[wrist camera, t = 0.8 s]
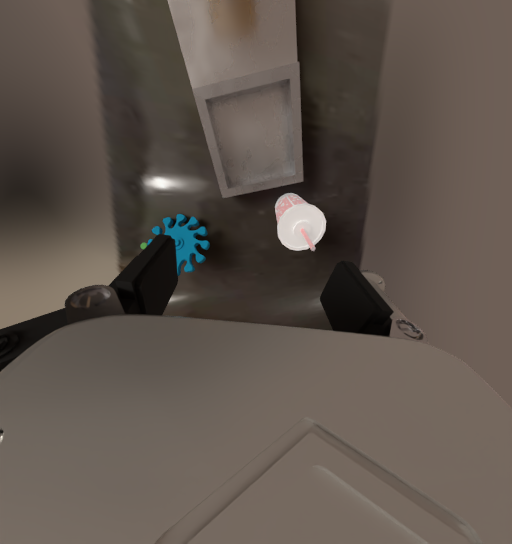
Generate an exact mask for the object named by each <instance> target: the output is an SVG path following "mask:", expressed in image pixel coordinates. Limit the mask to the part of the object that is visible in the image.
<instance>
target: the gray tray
mask: <svg viewBox="0 0 512 544" xmlns="http://www.w3.org/2000/svg"><path fill="white" fill-rule="evenodd" d="M168 3H169V7H170V10H171V14H172V18H173V21H174V25H175V28H176V32H177V35H178V39H179V43H180V46H181V50H182V53H183V57H184V61H185V64H186V68H187V71H188V75H189V78H190V82H191V86H192V90H193V93H194V97H195V100H196V104H197V108H198V111H199V115H200V118H201V122H202V126H203V129H204V133H205V136H206V140H207V143H208V147H209V151H210V154H211V158H212V161H213V165H214V168H215V172H216V176H217V179H218V183H219V186H220V190H221V194H222V197H223V198H226V197H231V196H236V195H241V194H245V193H250V192H255V191H260V190H265V189H270V188H274V187H279V186H284V185H289V184H294V183H299V182H303V158H302V128H301V97H300V67H299V62H297V38H296V11H295V0H168Z"/></svg>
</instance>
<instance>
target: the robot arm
mask: <svg viewBox="0 0 512 544" xmlns="http://www.w3.org/2000/svg"><path fill="white" fill-rule="evenodd" d="M177 282H178V273H177V258H176V244H175V239H172V237H171V236H170V235H164V234H158V235H157V236H156V237H155V238H154V239H153V240H152V241H151V242H150V244H149V245H148V246H147V247H146V248H145V249H144V250H143V251H142V252H141V253H140V254H139V255H138V256H136V257H135V258H134V259H133V260H132V261H131V262H130V264H129V265H128V266H127V267H126V268H125V269H124V270H123V271H122V272H121V273H120V274H119V275H118V276H117V277H116V278H115V279H114V280H113V281H112V283H111V284H110V285H109V286H106V285H92V286H88V287H85V288H81V289H79V290H77V291H75V292H73V293H72V294H71V295H69V296H68V298H67V299H66V300H65V308H63V309H60V310H57V311H54V312H51V313H49V314H45V315H42V316H39V317H37V318H33V319H31V320H27V321H24V322H21V323H18V324H15V325H12V326H9V327H6V328H3V329H0V544H512V408H511V407H510V406H509V405H508V404H507V403H506V402H505V401H504V400H503V399H502V398H501V397H500V396H499V395H498V394H497V393H496V392H495V391H494V390H493V389H492V388H491V387H490V386H489V385H488V384H487V383H486V382H485V381H484V380H483V379H482V378H481V377H480V376H479V375H478V374H477V373H476V372H475V371H473V370H472V369H471V368H470V367H469V366H468V365H467V364H465V363H464V362H463V361H462V360H460V359H459V358H457V357H455V356H453V355H451V354H449V353H447V352H445V351H443V350H441V349H438V348H436V347H433V346H431V345H430V344H429V343H428V340H427V336H426V334H425V333H424V331H422V329H421V328H420V327H418V326H417V325H416V324H414V323H413V322H411V321H409V320H408V319H407V318H406V317H405V316H404V315H403V314H402V312H401V311H400V310H399V309H398V308H397V307H396V306H395V304H394V303H393V302H392V301H391V300H390V299H389V298H388V297H387V295H386V294H385V293H384V291H385V282H384V280H383V279H382V277H381V276H380V275H378V274H377V273H375V272H373V271H368V270H360V271H359V269H358V268H357V267H356V266H355V265H354V264H353V263H352V262H348V261H341V262H340V263H337V265H336V267H335V269H334V270H333V272H332V274H331V276H330V278H329V280H328V282H327V284H326V286H325V288H324V290H323V292H322V294H321V296H320V301H321V304H322V306H323V308H324V310H325V313H326V315H327V317H328V319H329V322H330V324H331V326H332V329H333V331H330V330H320V329H309V328H299V327H288V326H278V325H267V324H256V323H245V322H234V321H222V320H211V319H200V318H188V317H177V316H162V314H163V312H164V310H165V308H166V306H167V304H168V302H169V300H170V298H171V296H172V294H173V292H174V290H175V288H176V285H177Z"/></svg>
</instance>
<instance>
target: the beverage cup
mask: <svg viewBox="0 0 512 544" xmlns="http://www.w3.org/2000/svg"><path fill="white" fill-rule="evenodd" d="M275 212H276V217H277V222H278V226H277V229H278V237H279V239H280V241H281V242H282V244H283V245H284V246H286V247H287V248H289V249H292V250H297V251H299V250H305V249H308V248H310V249H311V250H312V251H314V250H315V249H316V248H315V246H314V245H315V244H316V243H317V242H318V241H319V240H320V239H321V238H322V236H323V234H324V232H325V229H326V220H325V217H324V215H323V213H322V212H321V211H320V210H319V209H318V208H317V207H315V206H314V205H310V204H308V203H307V202H306V201H304V200H303V199H302V198H301V197H299V196H298V195H297V194H294V193H287V194H284V195H283V196H281V197H280V198H279V199H278V201H277V202H276V206H275Z"/></svg>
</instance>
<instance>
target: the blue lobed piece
mask: <svg viewBox="0 0 512 544" xmlns="http://www.w3.org/2000/svg"><path fill="white" fill-rule="evenodd" d="M186 220H187V218H186V217H185V216H184V215H182V214H178V215H177V221H176V224H175V226H174V227H173V228H171V225H172V224H173V220H172V219H171V218H170V217H167V218H164V219H163V223H164V224H165V226H166V231H165V234H164V235H170V236H171V237H172V239H175V244H176V258H177V273H178V276H179V275H180V273H181V271H180V270H181V266H182V264H183V262H184V261H186V260H187V264H186V266H185V268H184V270H185V272H193V271H194V270H195V268H194V266H193V265H192V255H193V254H196V261H197V262H198V263H202V262H204V261H205V259H206V258H205V256H203V255H201V254H199V252H198V251H197V249H196V246H197V245H198V244H200V245H201V247H202V248H203V249H205V250H208V248H209V246H210V243H209V242H208V241H206V240H204V241H199V240H197V239H196V238H195V237H196V235H197V234H200V235H202V236H207V230H206V228H205V227H200V228H199V229H197V230H194V231H190V228H191V227H192V226H198V225H199V222H198V221H197V220H196V219H195V218H194V217H191V218H190V220H189V222H188V223H187V224H186V225H184V226H183V227H181V224H182V223H184V222H185V221H186ZM152 232H153V233H154V234H156V235H158V234H162V232H163V231H162V229H161V228H160V227H158V226H156V227H155V228H153V230H152ZM152 240H153V239H150V240H149V241H148V244H146V243H142V244H141V248H142V249H145V248H146V247H147V246H148V245H149V244H150V242H151V241H152Z"/></svg>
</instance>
